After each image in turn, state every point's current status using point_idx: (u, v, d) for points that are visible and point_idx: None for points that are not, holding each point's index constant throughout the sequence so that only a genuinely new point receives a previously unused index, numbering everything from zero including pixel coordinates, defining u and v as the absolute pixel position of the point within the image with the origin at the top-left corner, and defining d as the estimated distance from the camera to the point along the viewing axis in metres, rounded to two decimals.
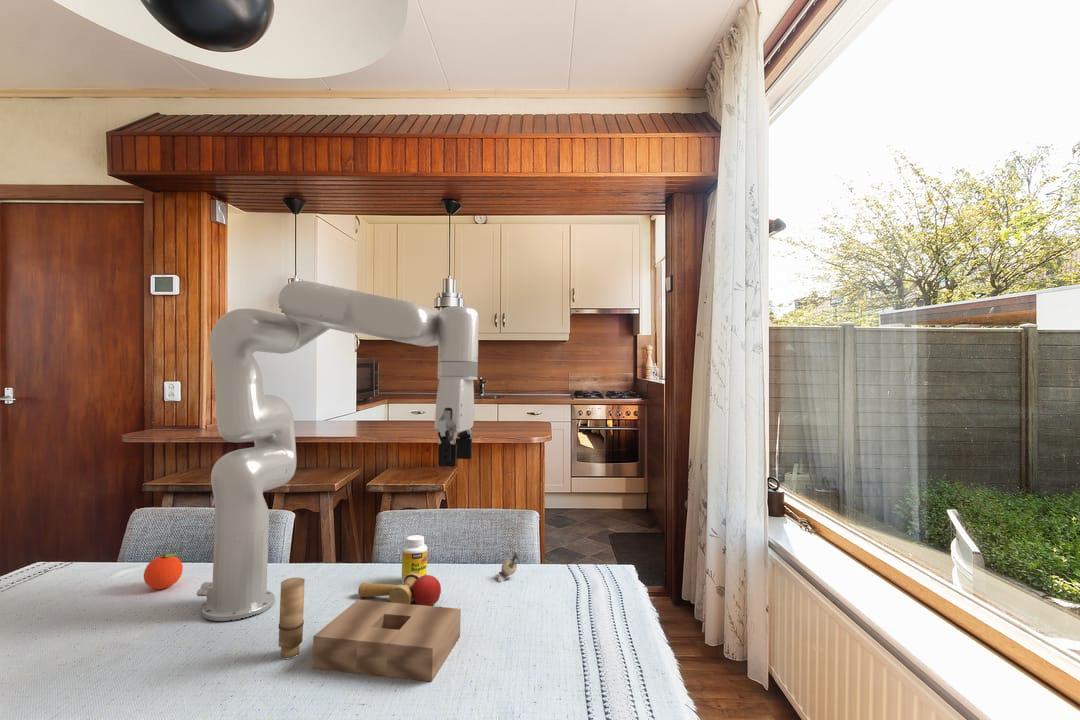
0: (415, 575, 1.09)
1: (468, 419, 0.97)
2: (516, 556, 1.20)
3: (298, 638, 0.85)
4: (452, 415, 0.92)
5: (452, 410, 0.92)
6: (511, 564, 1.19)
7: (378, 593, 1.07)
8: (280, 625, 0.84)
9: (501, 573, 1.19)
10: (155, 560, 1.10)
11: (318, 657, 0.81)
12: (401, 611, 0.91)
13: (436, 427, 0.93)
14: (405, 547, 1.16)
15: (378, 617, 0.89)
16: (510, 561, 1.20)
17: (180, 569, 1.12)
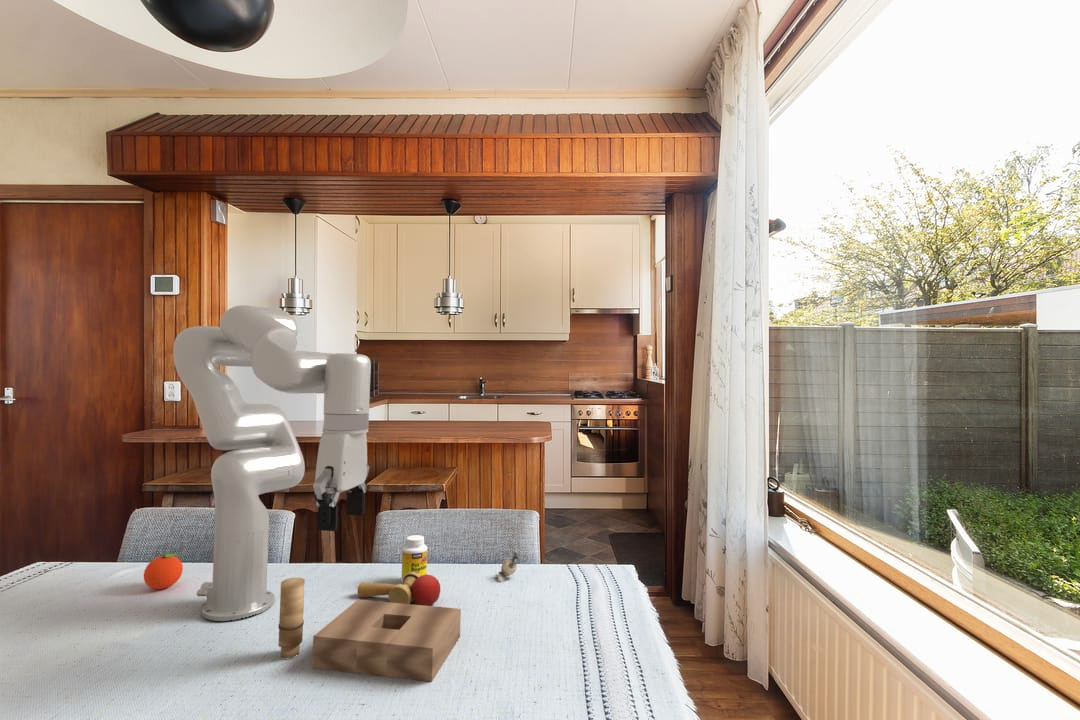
0: (415, 574, 1.09)
1: (356, 475, 0.89)
2: (516, 556, 1.20)
3: (298, 638, 0.85)
4: (333, 474, 0.84)
5: (333, 469, 0.85)
6: (511, 564, 1.19)
7: (377, 593, 1.07)
8: (280, 625, 0.84)
9: (501, 573, 1.19)
10: (155, 560, 1.10)
11: (318, 657, 0.81)
12: (401, 611, 0.91)
13: None
14: (405, 547, 1.16)
15: (378, 617, 0.89)
16: (510, 561, 1.20)
17: (180, 569, 1.12)
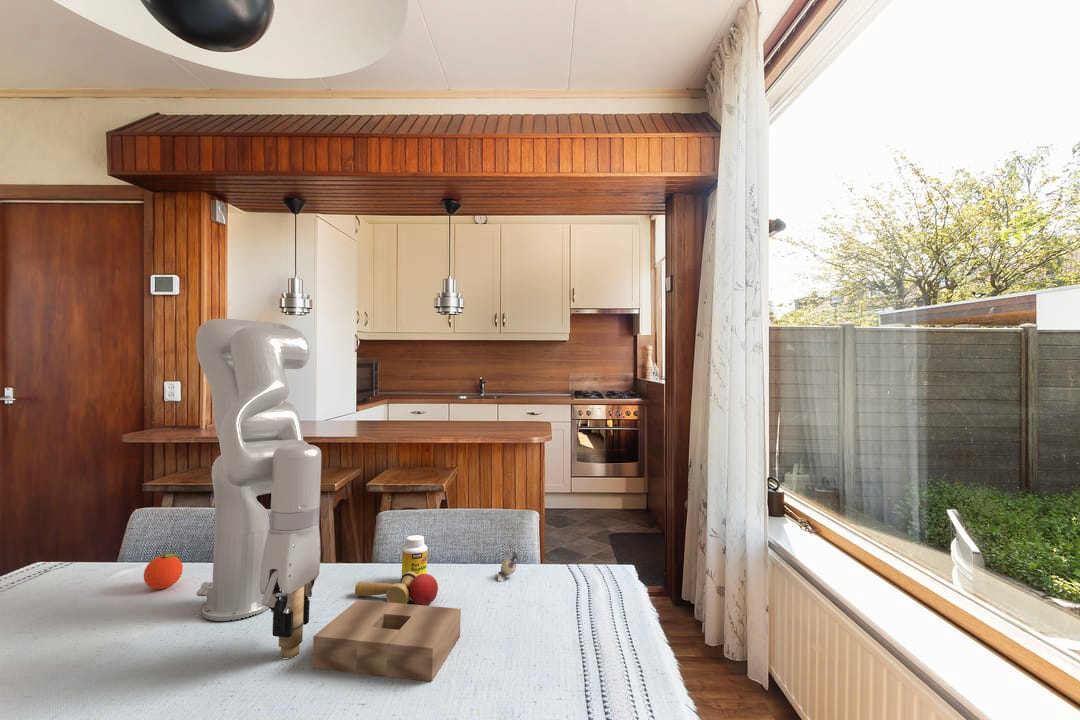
0: (412, 573, 1.09)
1: (305, 573, 0.86)
2: (515, 556, 1.20)
3: (298, 638, 0.85)
4: (278, 578, 0.81)
5: (278, 572, 0.81)
6: (511, 564, 1.19)
7: (375, 592, 1.07)
8: None
9: (501, 573, 1.20)
10: (155, 560, 1.10)
11: (318, 657, 0.81)
12: (401, 611, 0.91)
13: (261, 590, 0.82)
14: (405, 547, 1.16)
15: (378, 617, 0.89)
16: (510, 561, 1.20)
17: (180, 569, 1.12)
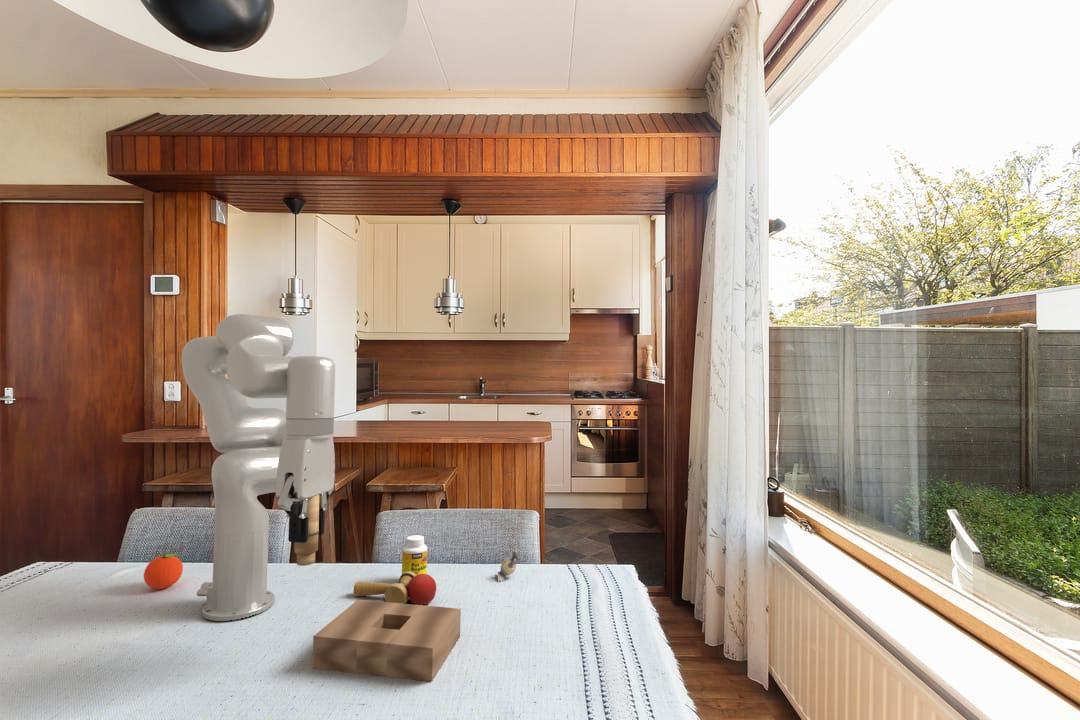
0: (411, 573, 1.09)
1: (320, 482, 0.86)
2: (515, 556, 1.20)
3: (314, 546, 0.85)
4: (293, 481, 0.82)
5: (293, 475, 0.82)
6: (510, 564, 1.19)
7: (373, 592, 1.07)
8: None
9: (500, 573, 1.20)
10: (155, 560, 1.10)
11: (318, 657, 0.81)
12: (401, 611, 0.91)
13: (276, 494, 0.82)
14: (405, 547, 1.16)
15: (378, 617, 0.89)
16: (509, 561, 1.20)
17: (180, 569, 1.12)
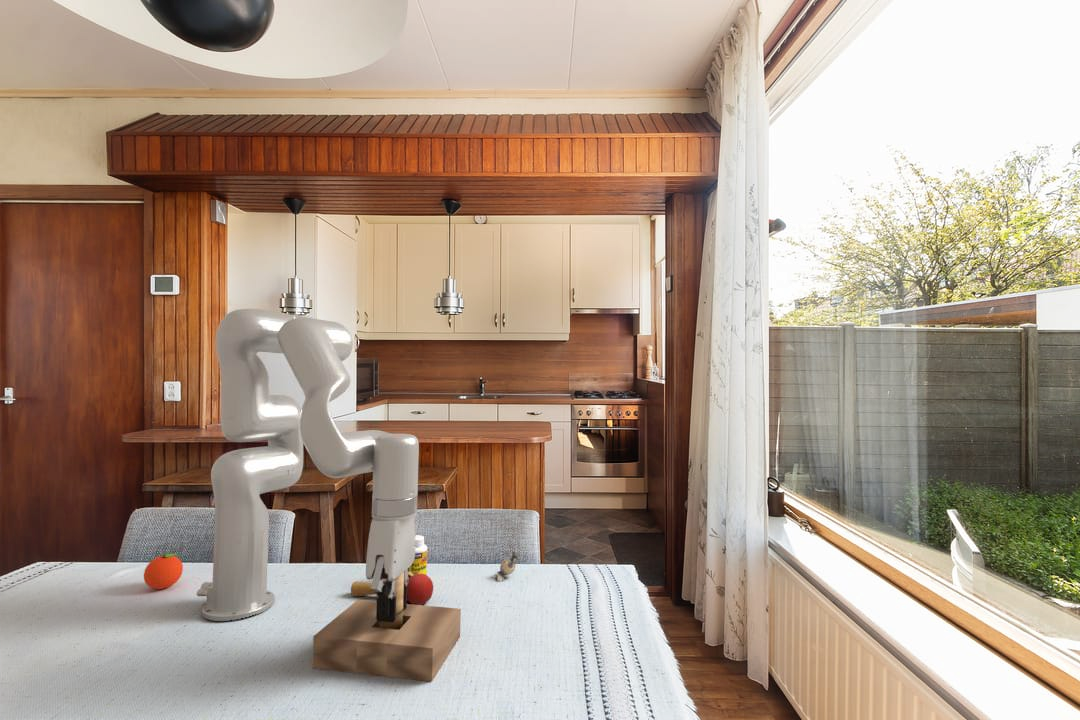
0: (408, 573, 1.09)
1: (406, 560, 0.87)
2: (515, 555, 1.20)
3: (400, 624, 0.86)
4: (384, 563, 0.83)
5: (384, 557, 0.83)
6: (510, 563, 1.19)
7: (371, 591, 1.08)
8: None
9: (500, 573, 1.20)
10: (155, 560, 1.10)
11: (318, 657, 0.81)
12: None
13: (367, 576, 0.83)
14: None
15: None
16: (509, 560, 1.20)
17: (180, 569, 1.12)
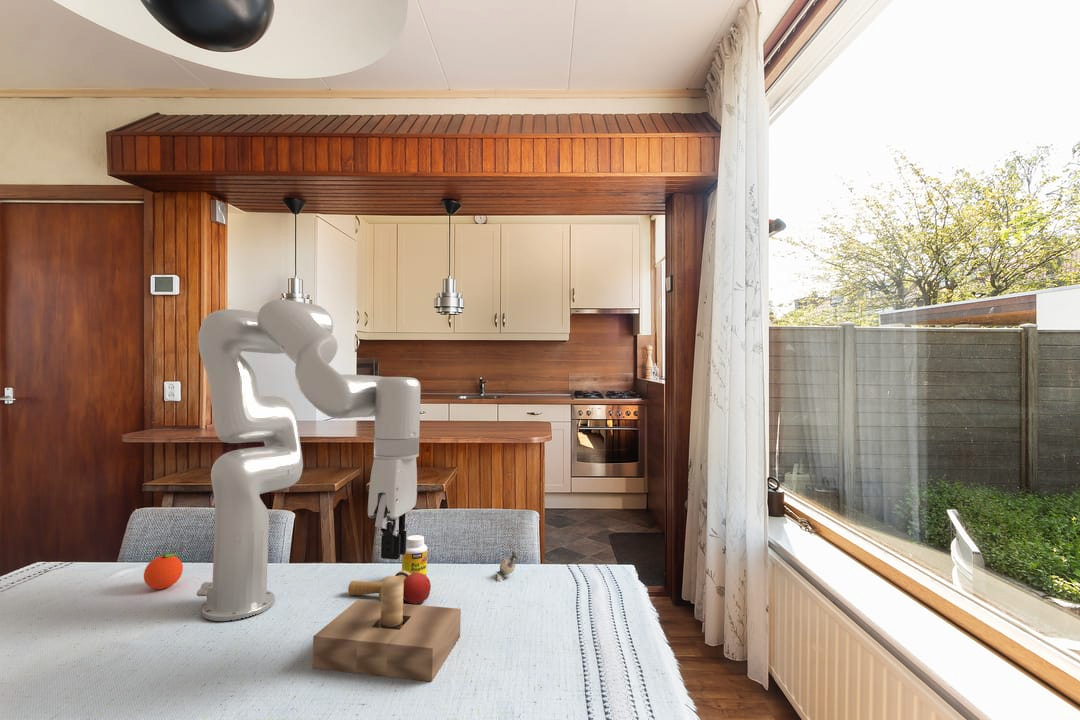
0: (405, 572, 1.10)
1: (407, 501, 0.88)
2: (514, 555, 1.21)
3: None
4: (386, 501, 0.83)
5: (386, 495, 0.83)
6: (510, 563, 1.20)
7: (368, 591, 1.08)
8: (382, 622, 0.86)
9: (500, 572, 1.20)
10: (155, 560, 1.10)
11: (318, 657, 0.81)
12: None
13: (369, 514, 0.84)
14: None
15: (378, 617, 0.89)
16: (509, 560, 1.20)
17: (180, 569, 1.12)
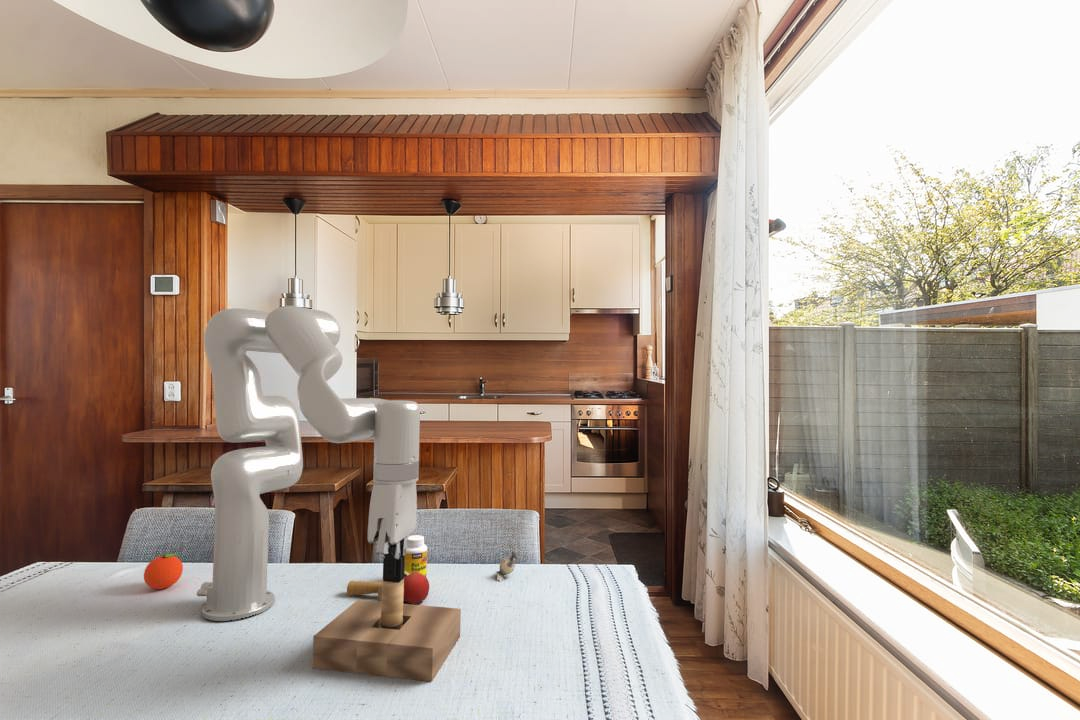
0: None
1: (407, 525, 0.88)
2: (514, 555, 1.21)
3: None
4: (386, 526, 0.83)
5: (386, 521, 0.83)
6: (509, 563, 1.20)
7: (367, 591, 1.08)
8: (382, 623, 0.86)
9: (499, 572, 1.20)
10: (155, 560, 1.10)
11: (318, 657, 0.81)
12: None
13: (369, 539, 0.83)
14: None
15: (378, 617, 0.89)
16: (508, 560, 1.20)
17: (180, 569, 1.12)
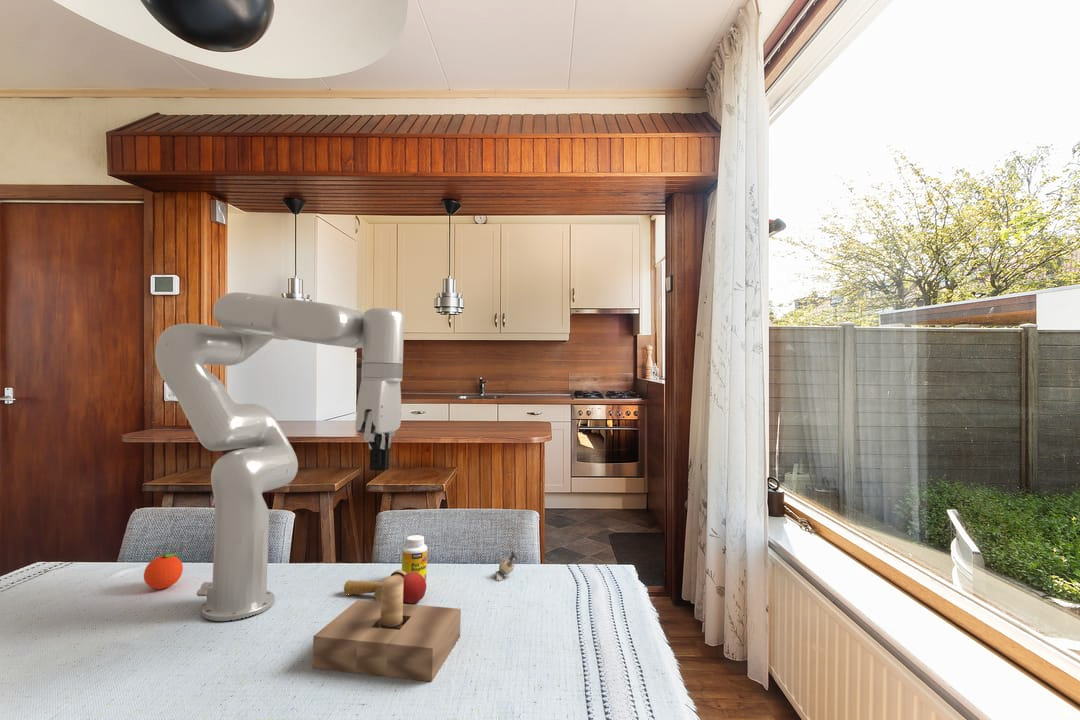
0: (401, 572, 1.10)
1: (392, 420, 0.97)
2: (514, 555, 1.21)
3: None
4: (372, 416, 0.93)
5: (372, 411, 0.93)
6: (509, 563, 1.20)
7: (364, 590, 1.08)
8: (382, 622, 0.86)
9: (499, 572, 1.20)
10: (155, 560, 1.10)
11: (318, 657, 0.81)
12: None
13: (356, 428, 0.93)
14: (405, 547, 1.16)
15: (378, 617, 0.89)
16: (508, 560, 1.21)
17: (180, 569, 1.12)
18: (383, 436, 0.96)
